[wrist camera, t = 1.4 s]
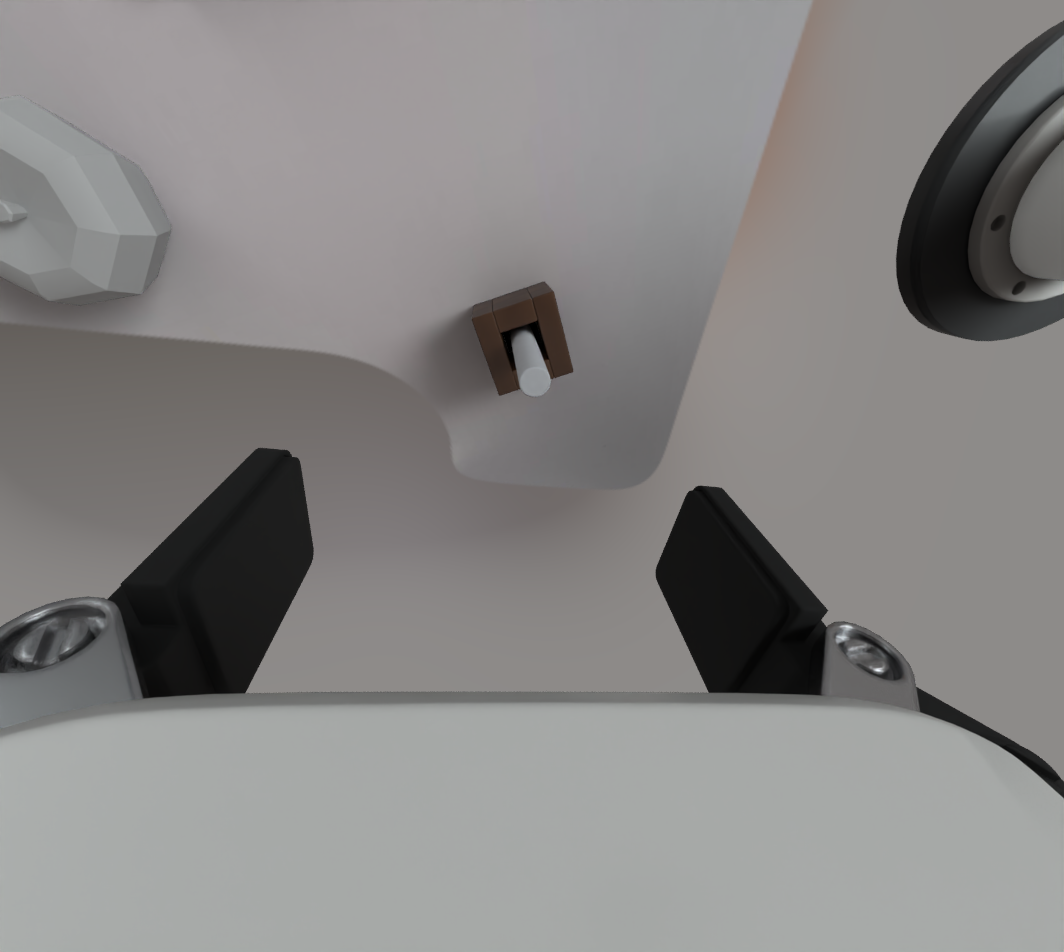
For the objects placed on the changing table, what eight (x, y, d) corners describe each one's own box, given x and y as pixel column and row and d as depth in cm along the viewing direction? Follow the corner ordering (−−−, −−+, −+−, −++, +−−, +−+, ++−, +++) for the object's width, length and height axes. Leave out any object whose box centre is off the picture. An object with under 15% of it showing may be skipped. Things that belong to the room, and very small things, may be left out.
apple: (146, 322, 24) (45, 352, 19) (-9, 181, 21) (-192, 167, 15) (242, 240, 23) (162, 248, 17) (93, 71, 19) (-70, 10, 13)
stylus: (527, 315, 26) (546, 362, 18) (533, 337, 27) (554, 392, 18) (506, 322, 26) (515, 372, 18) (513, 344, 27) (524, 401, 19)
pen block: (544, 281, 25) (553, 290, 22) (563, 353, 28) (573, 372, 24) (473, 305, 26) (471, 318, 22) (497, 374, 28) (499, 396, 25)
